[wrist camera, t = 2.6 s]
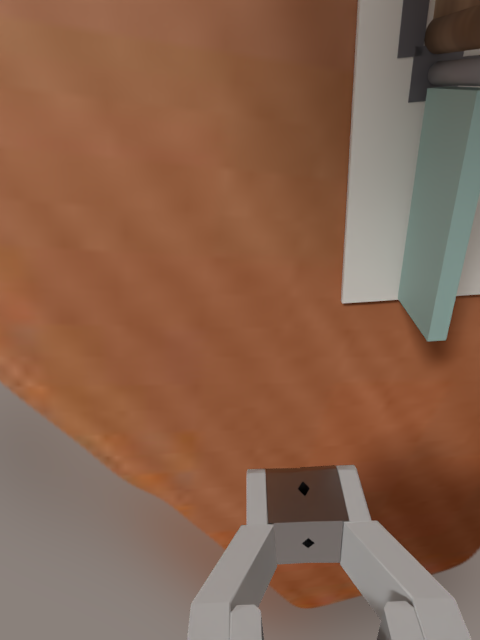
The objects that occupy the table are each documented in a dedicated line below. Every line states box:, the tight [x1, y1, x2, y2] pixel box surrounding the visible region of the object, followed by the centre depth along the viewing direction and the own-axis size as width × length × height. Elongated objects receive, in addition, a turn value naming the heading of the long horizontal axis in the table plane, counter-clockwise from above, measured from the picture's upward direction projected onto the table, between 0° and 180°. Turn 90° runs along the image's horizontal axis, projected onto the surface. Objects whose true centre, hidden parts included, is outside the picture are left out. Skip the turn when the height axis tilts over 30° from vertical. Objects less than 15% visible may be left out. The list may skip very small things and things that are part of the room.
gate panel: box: [398, 58, 480, 341], centre depth 20 cm, size 13×1×6 cm, turn 5°
